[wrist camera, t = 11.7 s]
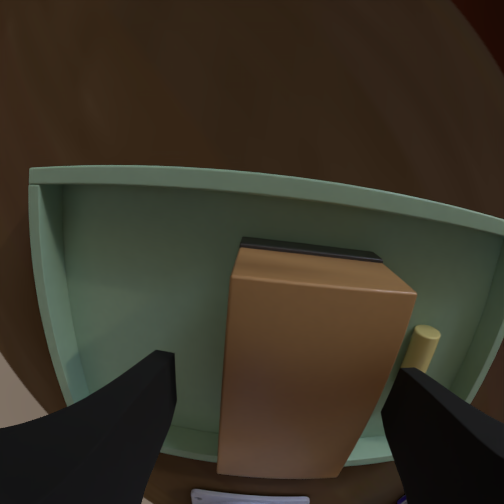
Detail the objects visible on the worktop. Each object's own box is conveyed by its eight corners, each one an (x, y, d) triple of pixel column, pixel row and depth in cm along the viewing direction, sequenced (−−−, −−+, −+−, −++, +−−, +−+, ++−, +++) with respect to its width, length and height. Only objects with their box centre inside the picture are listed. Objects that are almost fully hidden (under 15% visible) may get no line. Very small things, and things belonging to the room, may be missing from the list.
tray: (426, 427, 13) (438, 451, 11) (90, 401, 13) (74, 425, 11) (504, 220, 10) (535, 229, 8) (61, 166, 10) (28, 167, 8)
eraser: (324, 420, 12) (336, 479, 8) (226, 413, 12) (216, 475, 8) (373, 251, 10) (420, 289, 6) (242, 235, 10) (230, 270, 6)
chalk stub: (391, 380, 11) (415, 384, 11) (391, 396, 10) (417, 400, 10) (413, 321, 10) (438, 326, 10) (416, 335, 9) (444, 339, 9)
